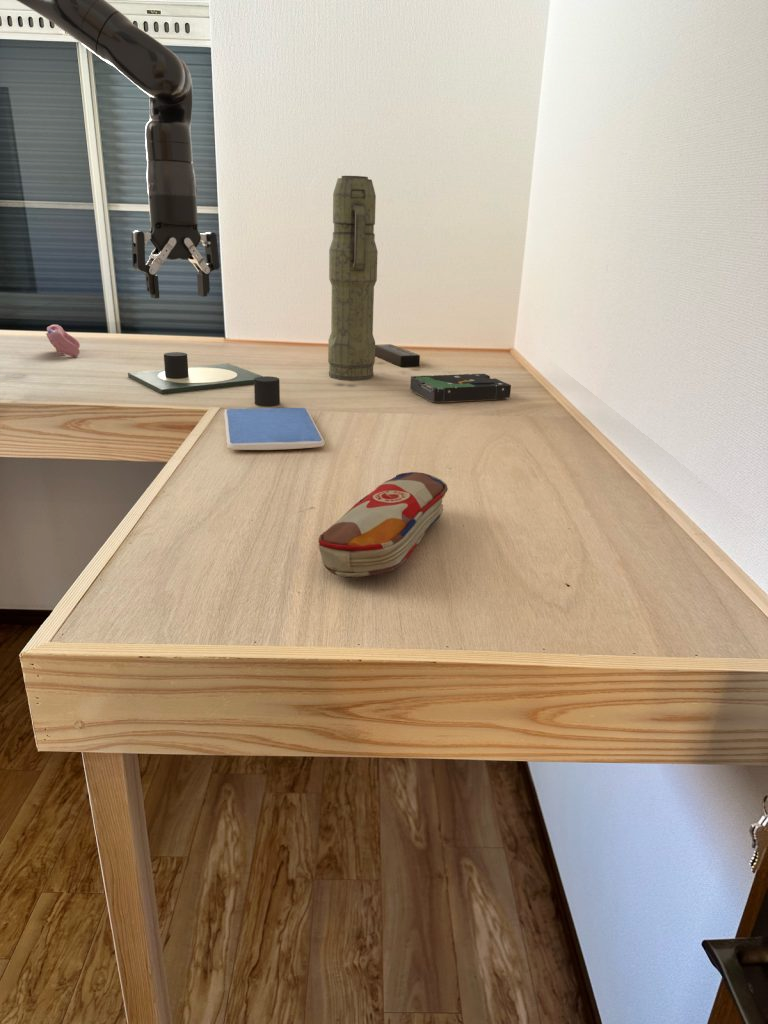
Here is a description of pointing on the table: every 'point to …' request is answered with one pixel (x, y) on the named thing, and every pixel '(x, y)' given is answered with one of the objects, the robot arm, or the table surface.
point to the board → (196, 378)
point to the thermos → (352, 279)
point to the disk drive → (460, 387)
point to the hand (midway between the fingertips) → (179, 297)
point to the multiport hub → (397, 355)
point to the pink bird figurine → (62, 341)
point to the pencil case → (383, 526)
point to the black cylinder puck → (267, 391)
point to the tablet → (271, 429)
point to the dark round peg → (176, 365)
